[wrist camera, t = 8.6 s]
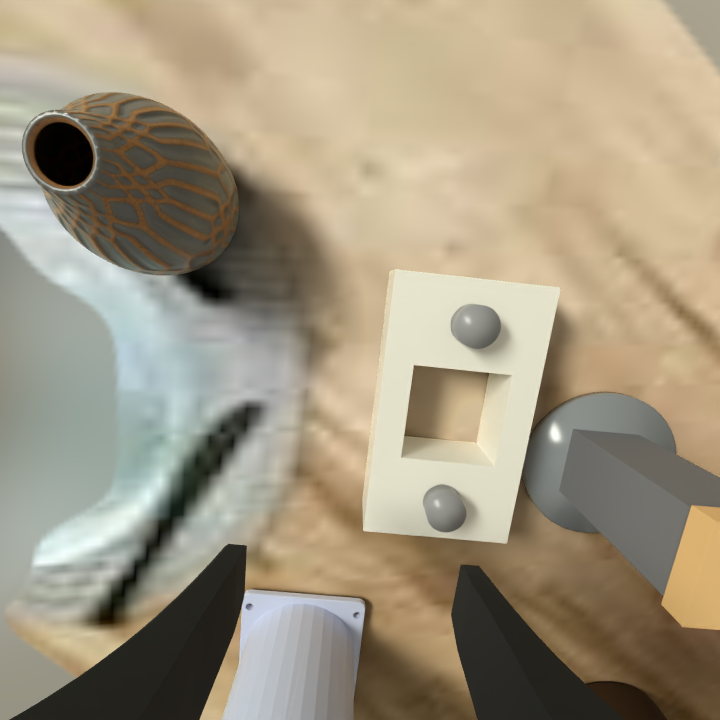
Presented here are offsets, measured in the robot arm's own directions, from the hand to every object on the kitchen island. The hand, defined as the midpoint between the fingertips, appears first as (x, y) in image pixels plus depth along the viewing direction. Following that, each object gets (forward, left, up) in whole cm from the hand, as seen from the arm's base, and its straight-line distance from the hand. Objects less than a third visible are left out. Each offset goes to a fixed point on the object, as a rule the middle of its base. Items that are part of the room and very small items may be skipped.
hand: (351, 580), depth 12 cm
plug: (+1, -15, -10) cm, 18 cm away
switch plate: (+3, -5, -10) cm, 12 cm away
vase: (+12, +10, -11) cm, 19 cm away
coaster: (0, -15, -10) cm, 18 cm away
